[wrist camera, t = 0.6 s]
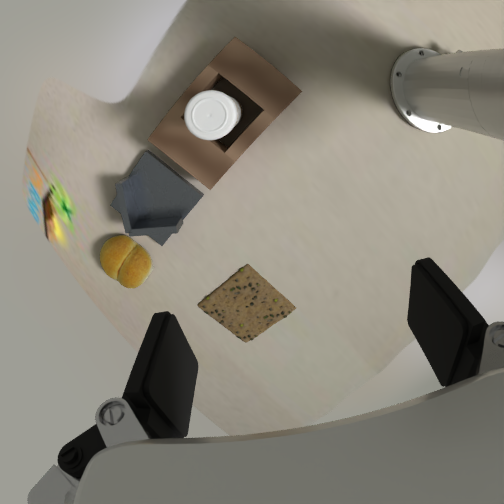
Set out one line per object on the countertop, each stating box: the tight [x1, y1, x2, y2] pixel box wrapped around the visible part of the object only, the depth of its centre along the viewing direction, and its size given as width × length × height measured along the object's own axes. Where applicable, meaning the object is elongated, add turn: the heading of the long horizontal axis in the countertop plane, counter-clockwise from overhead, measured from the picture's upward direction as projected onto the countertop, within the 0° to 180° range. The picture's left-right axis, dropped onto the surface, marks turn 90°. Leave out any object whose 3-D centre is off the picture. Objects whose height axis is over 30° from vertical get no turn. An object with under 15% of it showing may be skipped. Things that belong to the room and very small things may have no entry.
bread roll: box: [100, 235, 154, 288], centre depth 44 cm, size 8×9×4 cm
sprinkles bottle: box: [184, 90, 243, 140], centre depth 29 cm, size 5×5×14 cm
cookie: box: [198, 264, 296, 342], centre depth 49 cm, size 12×12×1 cm
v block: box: [110, 150, 204, 246], centre depth 39 cm, size 10×11×4 cm
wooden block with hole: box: [148, 37, 302, 190], centre depth 33 cm, size 16×10×4 cm, turn 138°
